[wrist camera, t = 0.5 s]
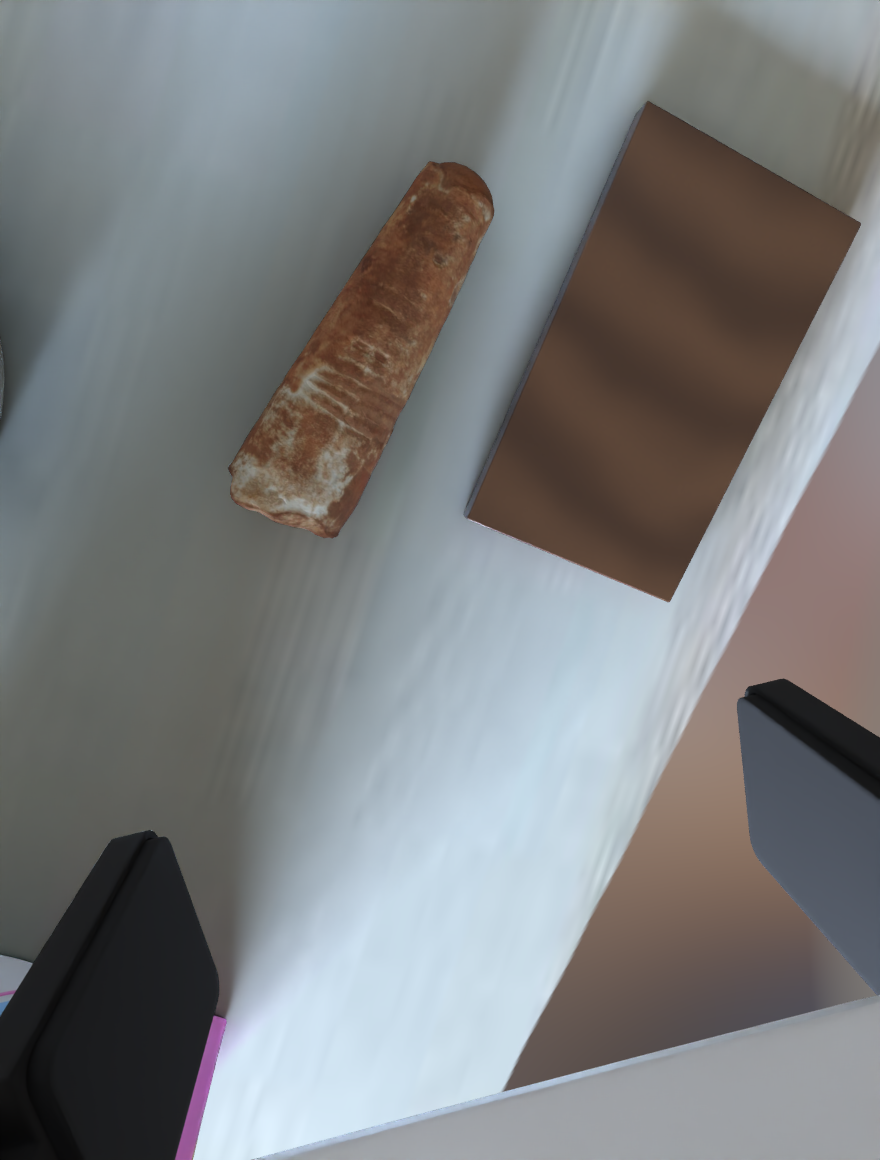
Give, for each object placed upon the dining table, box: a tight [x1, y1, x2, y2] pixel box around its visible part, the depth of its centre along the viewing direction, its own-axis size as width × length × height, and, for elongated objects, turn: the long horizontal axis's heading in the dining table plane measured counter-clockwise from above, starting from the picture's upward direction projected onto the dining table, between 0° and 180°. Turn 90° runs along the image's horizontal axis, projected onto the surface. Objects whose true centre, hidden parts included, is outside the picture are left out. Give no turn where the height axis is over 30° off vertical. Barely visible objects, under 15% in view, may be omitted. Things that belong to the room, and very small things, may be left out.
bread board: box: [464, 101, 861, 602], centre depth 36 cm, size 22×13×2 cm, turn 157°
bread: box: [228, 161, 494, 538], centre depth 32 cm, size 6×19×6 cm, turn 147°
